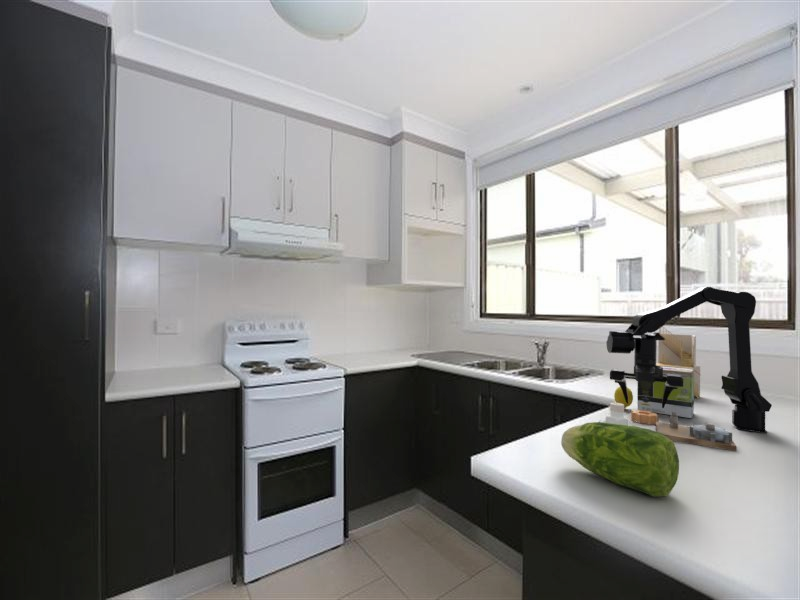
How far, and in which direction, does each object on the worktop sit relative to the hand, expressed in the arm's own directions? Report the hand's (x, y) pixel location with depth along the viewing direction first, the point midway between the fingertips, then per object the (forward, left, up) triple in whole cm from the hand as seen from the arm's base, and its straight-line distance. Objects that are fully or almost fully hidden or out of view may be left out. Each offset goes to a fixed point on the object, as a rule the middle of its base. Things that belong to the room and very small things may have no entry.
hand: (644, 405), depth 119 cm
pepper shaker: (+6, +27, -5) cm, 28 cm away
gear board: (-11, +11, -5) cm, 16 cm away
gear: (0, 0, -5) cm, 5 cm away
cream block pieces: (-12, -51, -5) cm, 52 cm away
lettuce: (+5, +54, -5) cm, 54 cm away
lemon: (+6, -13, -5) cm, 16 cm away
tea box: (-6, -17, -5) cm, 19 cm away
